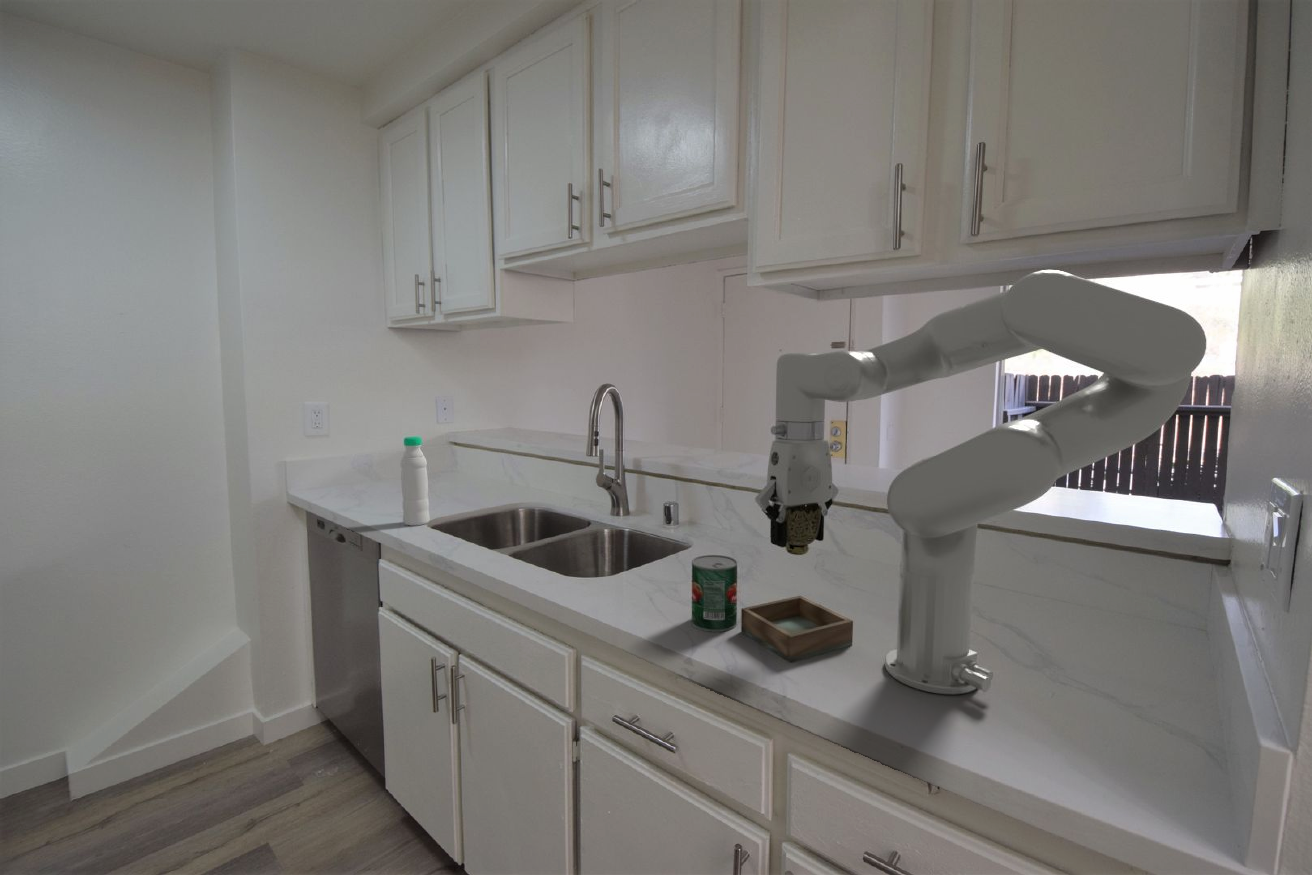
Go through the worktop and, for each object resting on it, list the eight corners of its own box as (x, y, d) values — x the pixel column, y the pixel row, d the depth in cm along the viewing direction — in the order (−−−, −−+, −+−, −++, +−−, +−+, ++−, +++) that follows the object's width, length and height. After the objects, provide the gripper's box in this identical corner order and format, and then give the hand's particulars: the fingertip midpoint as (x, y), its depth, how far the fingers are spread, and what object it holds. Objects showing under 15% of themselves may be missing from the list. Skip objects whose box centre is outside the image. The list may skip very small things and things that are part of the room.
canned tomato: (684, 617, 110) (684, 557, 109) (724, 611, 113) (724, 552, 112) (702, 635, 103) (703, 570, 102) (745, 628, 106) (745, 565, 104)
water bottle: (423, 519, 184) (419, 435, 181) (433, 523, 179) (429, 437, 176) (399, 523, 179) (395, 437, 177) (409, 527, 174) (404, 439, 171)
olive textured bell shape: (821, 561, 96) (823, 510, 95) (773, 558, 97) (774, 508, 96) (819, 547, 103) (820, 500, 102) (774, 545, 104) (775, 498, 104)
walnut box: (852, 645, 99) (853, 620, 99) (790, 662, 93) (790, 636, 93) (799, 617, 110) (800, 595, 110) (741, 631, 104) (741, 608, 104)
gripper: (770, 437, 91) (768, 555, 93) (857, 431, 99) (854, 540, 101) (740, 432, 97) (739, 543, 99) (824, 427, 105) (822, 530, 107)
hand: (797, 541), depth 100 cm, fingers closed on olive textured bell shape, 6 cm apart
